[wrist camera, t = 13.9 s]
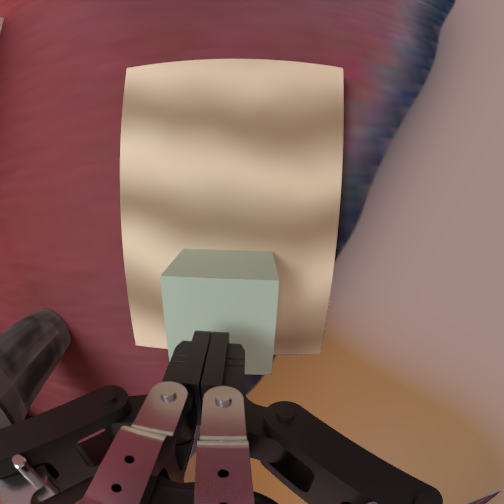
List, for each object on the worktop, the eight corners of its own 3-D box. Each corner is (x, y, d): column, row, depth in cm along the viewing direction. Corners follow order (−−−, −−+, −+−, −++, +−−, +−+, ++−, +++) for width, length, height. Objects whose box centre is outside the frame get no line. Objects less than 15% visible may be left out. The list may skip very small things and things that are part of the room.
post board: (134, 74, 16) (99, 48, 11) (336, 74, 16) (364, 45, 11) (142, 335, 22) (117, 376, 16) (316, 343, 22) (332, 388, 16)
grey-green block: (183, 248, 18) (160, 275, 13) (272, 251, 18) (279, 280, 13) (187, 325, 20) (170, 368, 15) (267, 329, 20) (271, 374, 15)
